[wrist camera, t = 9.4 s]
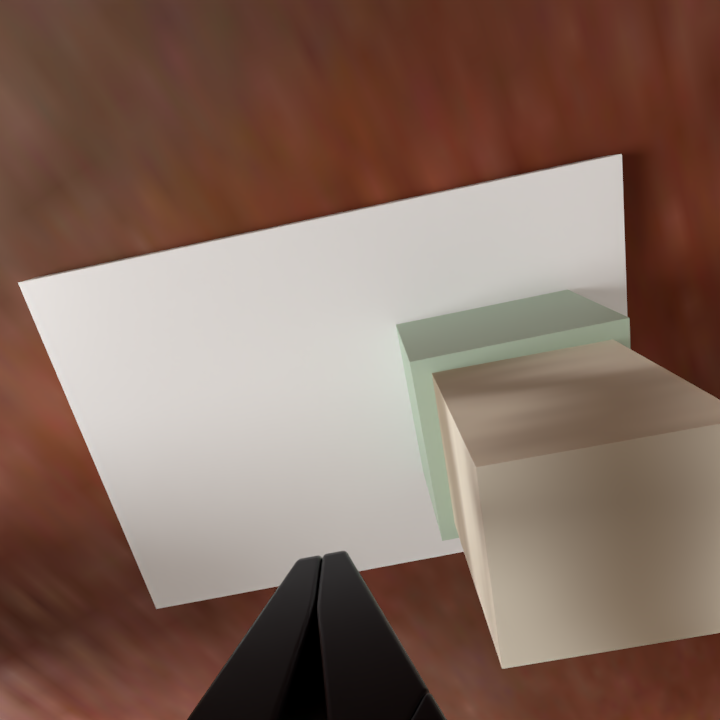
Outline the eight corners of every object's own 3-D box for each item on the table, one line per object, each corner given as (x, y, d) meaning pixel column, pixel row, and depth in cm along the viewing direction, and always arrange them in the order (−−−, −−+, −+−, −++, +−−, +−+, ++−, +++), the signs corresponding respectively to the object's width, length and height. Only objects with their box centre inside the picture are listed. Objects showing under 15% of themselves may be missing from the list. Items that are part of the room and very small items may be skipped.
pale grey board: (164, 591, 22) (156, 609, 21) (35, 277, 18) (17, 282, 17) (621, 505, 22) (634, 519, 21) (606, 155, 17) (621, 153, 16)
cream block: (454, 523, 16) (502, 668, 11) (431, 372, 14) (475, 467, 9) (617, 494, 16) (737, 629, 11) (613, 339, 14) (751, 417, 9)
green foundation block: (423, 472, 20) (442, 540, 16) (395, 324, 18) (409, 362, 14) (578, 442, 19) (635, 504, 16) (567, 289, 18) (629, 317, 14)
